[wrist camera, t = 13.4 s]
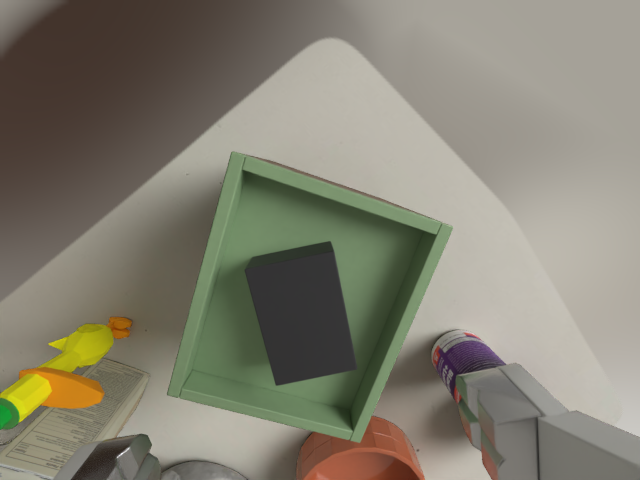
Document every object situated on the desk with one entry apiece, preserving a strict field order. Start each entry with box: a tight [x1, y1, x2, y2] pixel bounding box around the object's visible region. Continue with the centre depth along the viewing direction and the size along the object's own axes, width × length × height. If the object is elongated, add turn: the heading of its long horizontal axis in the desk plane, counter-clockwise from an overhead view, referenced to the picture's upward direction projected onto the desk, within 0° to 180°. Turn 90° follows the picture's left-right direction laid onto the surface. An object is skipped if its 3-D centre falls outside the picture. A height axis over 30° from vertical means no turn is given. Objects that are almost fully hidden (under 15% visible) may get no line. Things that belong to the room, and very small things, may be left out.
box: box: [0, 358, 150, 480], centre depth 25 cm, size 5×4×11 cm
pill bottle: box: [431, 330, 506, 404], centre depth 26 cm, size 5×5×10 cm
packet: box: [244, 241, 357, 386], centre depth 15 cm, size 6×4×2 cm, turn 11°
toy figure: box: [0, 317, 132, 430], centre depth 23 cm, size 7×4×12 cm, turn 75°
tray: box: [167, 152, 453, 443], centre depth 21 cm, size 12×10×14 cm
